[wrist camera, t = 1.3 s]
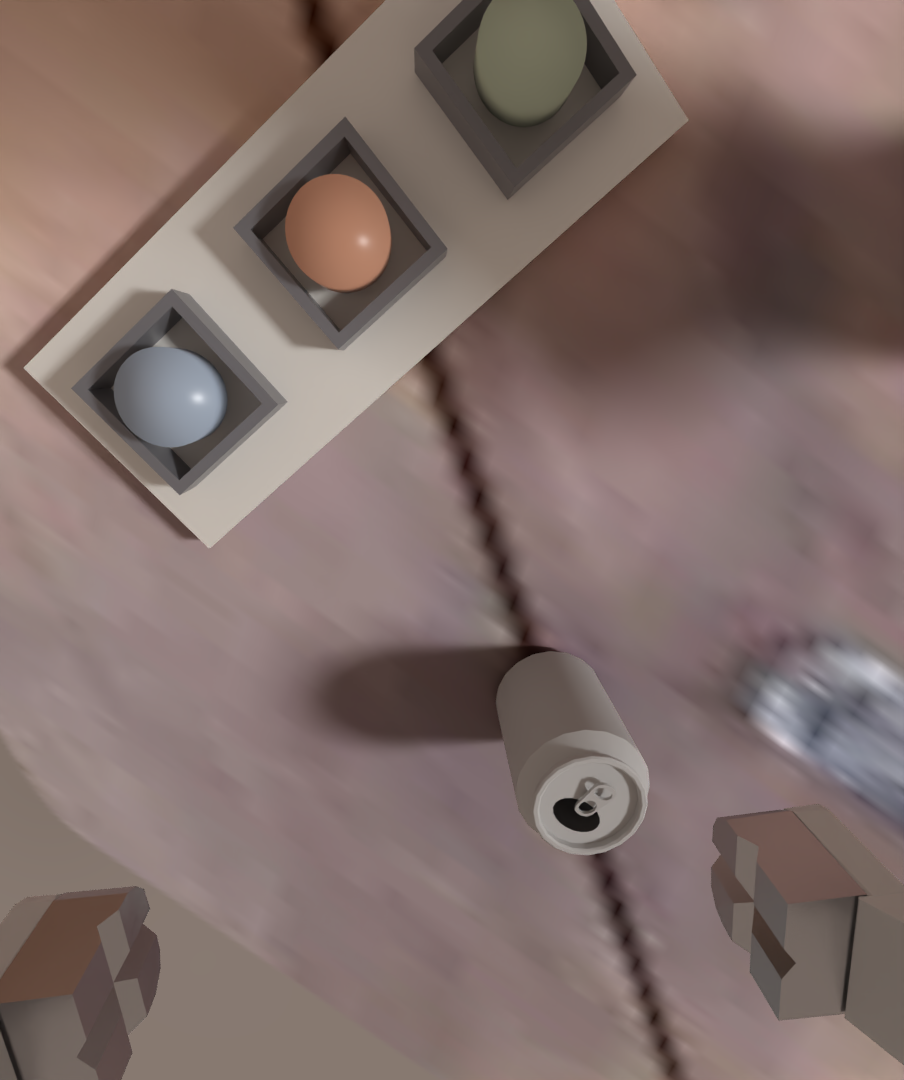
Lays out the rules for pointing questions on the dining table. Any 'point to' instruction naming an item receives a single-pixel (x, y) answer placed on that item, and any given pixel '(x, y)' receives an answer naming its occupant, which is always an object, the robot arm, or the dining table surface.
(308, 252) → the terracotta button
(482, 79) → the sage button
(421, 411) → the dining table surface
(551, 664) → the can
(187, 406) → the slate button
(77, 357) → the console
